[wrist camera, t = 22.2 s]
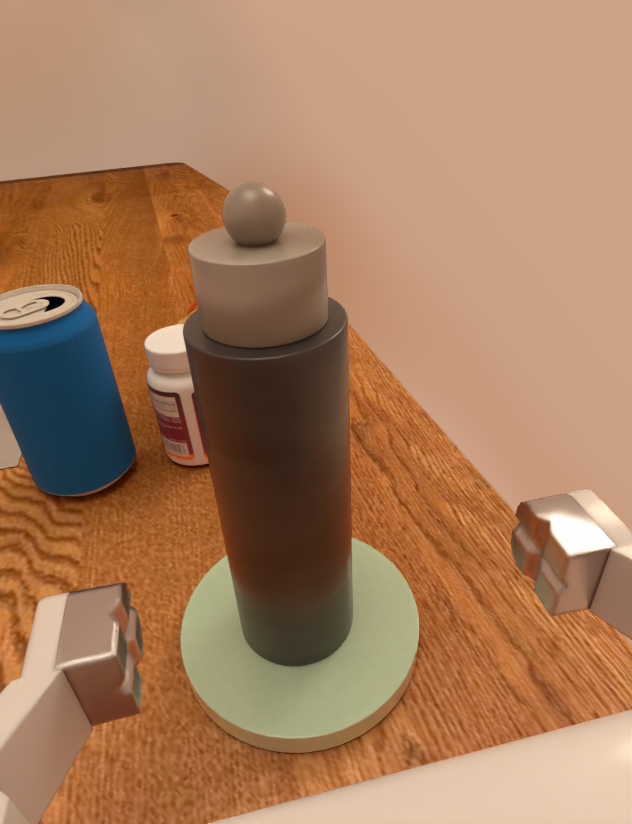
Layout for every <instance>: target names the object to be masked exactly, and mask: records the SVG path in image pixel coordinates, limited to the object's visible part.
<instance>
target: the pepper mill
mask: <svg viewBox="0 0 632 824" xmlns="http://www.w3.org/2000/svg"><path fill="white" fill-rule="evenodd" d="M222 218H223V223H224V226H225V227H221V228H217V229H214V230H211V231H209V232H206V233H204V234H202V235H200V236H198V237H196V238H195V239H194V240H192V241H191V243H190V244H189V246H188V253H189V259H190V265H191V270H192V276H193V281H194V287H195V293H196V298H197V304H198V309H197V310H196V311H195V312H193V313H192V314H191V315H190V316H189V317H188V319H187V320H186V322H185V324H184V327H183V337H184V342H185V347H186V352H187V357H188V362H189V367H190V372H191V377H192V382H193V387H194V392H195V397H196V402H197V407H198V412H199V417H200V422H201V427H202V432H203V437H204V442H205V447H206V452H207V457H208V462H209V467H210V472H211V477H212V482H213V487H214V492H215V497H216V502H217V507H218V512H219V517H220V522H221V527H222V532H223V537H224V542H225V547H226V552H227V557H228V562H229V567H230V572H231V577H232V582H233V587H234V592H235V597H236V602H237V607H238V612H239V617H240V622H241V626H242V631H243V634H244V637H245V639H246V641H247V643H248V644H249V645H250V647H251V648H252V649H253V650H254V651H255V652H256V653H257V654H258V655H260V656H261V657H263V658H264V659H266V660H268V661H270V662H273V663H276V664H280V665H284V666H303V665H308V664H312V663H315V662H318V661H320V660H322V659H324V658H326V657H328V656H329V655H331V654H332V653H333V652H335V651H336V650H337V649H338V648H339V647H340V646H341V645H342V643H343V642H344V641H345V639H346V637H347V636H348V634H349V632H350V629H351V626H352V622H353V581H352V525H351V469H350V414H349V358H348V318H347V314H346V311H345V309H344V308H343V307H342V305H340V304H339V303H338V302H337V301H335V300H333V299H332V298H330V297H328V291H327V264H326V239H325V235H324V234H323V232H322V231H320V230H319V229H317V228H315V227H312V226H309V225H305V224H301V223H295V222H286V211H285V207H284V203H283V201H282V199H281V197H280V196H279V194H278V193H277V192H276V191H275V190H274V189H273V188H271V187H270V186H268V185H266V184H264V183H260V182H256V181H255V182H254V181H252V182H245V183H242V184H240V185H238V186H236V187H235V188H234V189H233V190H232V191H231V192H230V193H229V194H228V196H227V197H226V199H225V201H224V204H223V209H222Z"/></svg>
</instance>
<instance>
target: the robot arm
mask: <svg viewBox="0 0 632 824" xmlns="http://www.w3.org/2000/svg"><path fill="white" fill-rule="evenodd" d="M516 517H517V519H518V520H519V521H520V523H519V524H518V525H517V526H516V527H515V529H514V530H513V531H512V537H511V547H512V553H513V556H514V559H515V561H516V563H517V565H518V567H519V568H520V570H521V571H522V573H523V574H524V575H526V576H528V577H530V578H532V579H533V580H535V588H534V591H535V593H536V594H537V596H538V597H539V599H540V600H541V601H542V603H543V604H544V606H545V607H546V609H547V610H548V612H549V613H550V615H551V616H557V615H562V614H567V613H572V612H576V611H581V610H586V609H590V612H592V613H593V614H595V615H596V616H598V617H599V618H601V619H602V620H603V621H605V622H606V623H608V624H609V625H611V626H612V627H614V628H615V629H617V630H618V631H620V632H621V633H623V634H624V635H626V636H627V637H628V638H630V639H631V640H632V532H631V531H630V530H629V529H628V528H627V527H626V526H625V525H624V524H623V523H622V521H621V520H620V519H619V518H618V517H617V516H616V515H615V514H614V513H613V512H612V511H611V510H610V509H609V508H608V507H607V506H606V505H605V503H603V501H602V500H601V499H600V498H599V497H598V496H597V495H596V494H595V493H594V492H593V491H591V490H589V489H584V490H579V491H574V492H569V493H565V494H558V495H553V496H548V497H544V498H539V499H534V500H530V501H525V502H521V503H520V505H519V506H518V507H517V512H516ZM130 601H131V593H130V591H129V588H128V586H127V584H126V583H119V584H114V585H108V586H102V587H96V588H91V589H85V590H79V591H74V592H70V593H64V594H59V595H53V596H48V597H42V599H41V600H40V602H39V603H38V605H37V608H36V612H35V616H34V621H33V625H32V629H31V634H30V638H29V642H28V647H27V651H26V655H25V659H24V664H23V668H22V672H21V677H20V679H16V680H12V681H11V682H10V683H9V684H8V685H7V686H6V687H5V689H4V690H3V691H2V692H1V693H0V824H38V823H39V822H40V820H41V818H42V817H43V815H44V813H45V811H46V810H47V808H48V806H49V804H50V803H51V801H52V799H53V798H54V796H55V794H56V792H57V791H58V789H59V787H60V785H61V784H62V782H63V780H64V779H65V777H66V775H67V773H68V772H69V770H70V768H71V766H72V765H73V763H74V761H75V759H76V758H77V756H78V754H79V753H80V751H81V749H82V747H83V746H84V744H85V742H86V740H87V739H88V737H89V735H90V734H91V732H92V730H93V727H92V726H95V725H98V724H102V723H106V722H110V721H114V720H117V719H121V718H125V717H129V716H133V715H136V714H140V702H141V677H140V674H139V672H138V669H137V667H136V666H137V665H138V663H139V662H140V661H141V659H142V654H143V641H142V629H141V624H140V619H139V616H138V613H137V610H136V609H135V608H133V607H131V606H130ZM207 824H632V709H631V710H628V711H624V712H620V713H617V714H613V715H609V716H605V717H602V718H598V719H594V720H590V721H587V722H583V723H579V724H576V725H572V726H568V727H564V728H561V729H557V730H553V731H549V732H546V733H542V734H538V735H534V736H531V737H527V738H523V739H520V740H516V741H512V742H508V743H505V744H501V745H497V746H493V747H490V748H486V749H482V750H479V751H475V752H471V753H467V754H464V755H460V756H456V757H452V758H449V759H445V760H441V761H438V762H434V763H430V764H426V765H423V766H419V767H415V768H412V769H408V770H404V771H400V772H397V773H393V774H389V775H386V776H382V777H378V778H374V779H371V780H367V781H363V782H359V783H356V784H352V785H348V786H345V787H341V788H337V789H333V790H330V791H326V792H322V793H319V794H315V795H311V796H307V797H304V798H300V799H296V800H293V801H289V802H285V803H281V804H278V805H274V806H270V807H267V808H263V809H259V810H255V811H252V812H248V813H244V814H241V815H237V816H233V817H229V818H226V819H222V820H218V821H215V822H211V823H207Z"/></svg>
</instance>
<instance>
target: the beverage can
mask: <svg viewBox="0 0 632 824" xmlns="http://www.w3.org/2000/svg"><path fill="white" fill-rule="evenodd" d="M0 404H1V407H2V409H3V411H4V413H5V416H6V418H7V420H8V423H9V425H10V427H11V429H12V432H13V434H14V436H15V439H16V441H17V443H18V445H19V448H20V450H21V452H22V455H23V457H24V459H25V461H26V464H27V466H28V468H29V471H30V473H31V475H32V478H33V480H34V482H35V484H36V485H37V487H38V488H40V489H41V490H42V491H44V492H46V493H49V494H53V495H60V496H84V495H89V494H93V493H96V492H99V491H101V490H103V489H105V488H107V487H109V486H110V485H112V484H113V483H115V482H116V481H117V480H118V479H119V478H120V477H121V476H122V475H123V474H124V473H125V472H126V471H127V470H128V469H129V468H130V466H131V465H132V463H133V461H134V459H135V454H136V450H135V446H134V442H133V439H132V435H131V432H130V428H129V425H128V422H127V418H126V415H125V411H124V408H123V404H122V401H121V398H120V394H119V391H118V387H117V384H116V380H115V377H114V373H113V370H112V367H111V363H110V360H109V356H108V353H107V349H106V346H105V343H104V339H103V336H102V332H101V329H100V325H99V322H98V318H97V315H96V312H95V310H94V309H93V308H92V307H91V306H90V305H89V304H88V303H87V302H86V301H84V300H83V296H82V293H81V291H80V290H79V289H77V288H76V287H73V286H69V285H62V284H46V285H36V286H30V287H24V288H20V289H16V290H12V291H9V292H6V293H3V294H0Z"/></svg>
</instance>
